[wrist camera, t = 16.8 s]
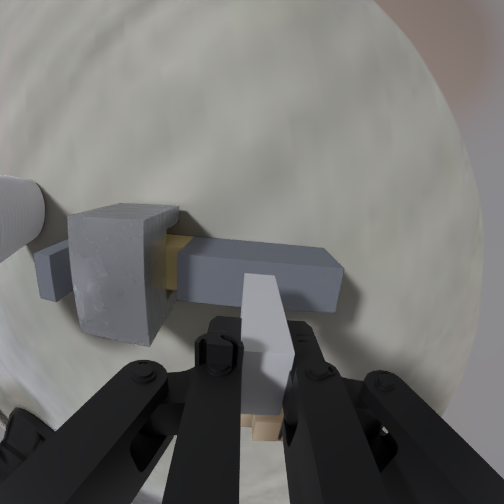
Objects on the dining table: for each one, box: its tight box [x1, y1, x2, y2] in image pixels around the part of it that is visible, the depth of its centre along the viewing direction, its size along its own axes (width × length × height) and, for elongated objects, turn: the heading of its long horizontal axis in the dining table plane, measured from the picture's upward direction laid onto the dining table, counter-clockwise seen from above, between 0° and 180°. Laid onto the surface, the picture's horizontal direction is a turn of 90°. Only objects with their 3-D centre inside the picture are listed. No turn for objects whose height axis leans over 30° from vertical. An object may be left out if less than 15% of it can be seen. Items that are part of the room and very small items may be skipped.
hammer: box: [34, 234, 344, 313], centre depth 17 cm, size 19×3×8 cm, turn 85°
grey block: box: [67, 203, 179, 347], centre depth 17 cm, size 5×7×7 cm
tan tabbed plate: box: [240, 406, 284, 441], centre depth 22 cm, size 8×10×5 cm
